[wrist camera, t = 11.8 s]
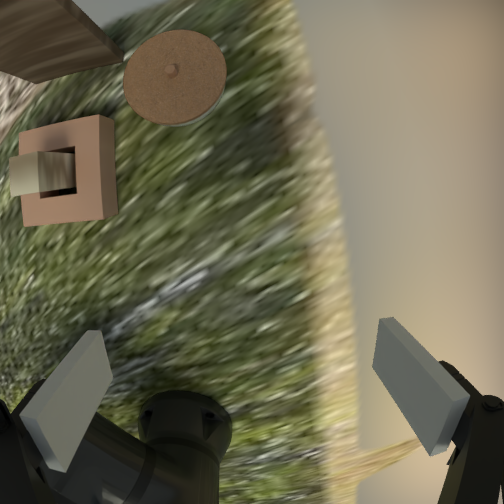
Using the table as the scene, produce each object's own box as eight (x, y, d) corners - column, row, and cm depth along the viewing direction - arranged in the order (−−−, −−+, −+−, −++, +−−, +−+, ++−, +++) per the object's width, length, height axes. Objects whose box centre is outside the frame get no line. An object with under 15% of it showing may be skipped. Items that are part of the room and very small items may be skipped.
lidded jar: (152, 144, 37) (128, 136, 28) (135, 68, 34) (110, 43, 25) (237, 120, 37) (238, 103, 28) (217, 44, 34) (212, 10, 25)
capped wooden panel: (129, 95, 35) (-53, -15, 5) (29, 118, 35) (-155, 95, 4) (131, 47, 34) (-8, -98, 3) (32, 73, 33) (-132, 18, 2)
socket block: (118, 213, 39) (103, 219, 34) (43, 220, 38) (24, 226, 33) (114, 120, 36) (99, 114, 31) (39, 135, 35) (19, 133, 30)
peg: (88, 185, 38) (39, 191, 26) (63, 188, 37) (10, 196, 26) (87, 154, 37) (37, 151, 25) (62, 159, 36) (9, 158, 25)
